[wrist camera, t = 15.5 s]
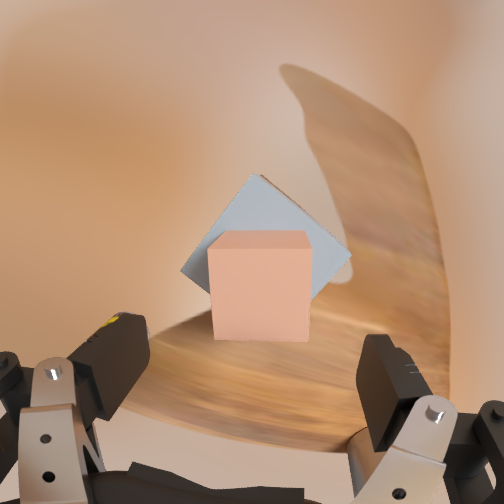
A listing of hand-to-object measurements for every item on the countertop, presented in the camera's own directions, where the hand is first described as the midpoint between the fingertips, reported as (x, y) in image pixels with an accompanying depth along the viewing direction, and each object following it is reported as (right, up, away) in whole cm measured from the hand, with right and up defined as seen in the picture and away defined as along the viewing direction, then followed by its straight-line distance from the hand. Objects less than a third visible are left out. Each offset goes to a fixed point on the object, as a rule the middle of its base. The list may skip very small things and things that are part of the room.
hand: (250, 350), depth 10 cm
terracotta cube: (+1, +2, +11) cm, 12 cm away
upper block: (+1, +4, +16) cm, 16 cm away
